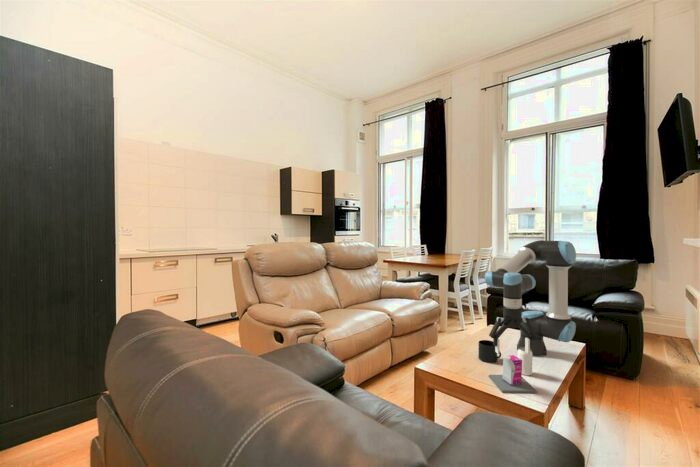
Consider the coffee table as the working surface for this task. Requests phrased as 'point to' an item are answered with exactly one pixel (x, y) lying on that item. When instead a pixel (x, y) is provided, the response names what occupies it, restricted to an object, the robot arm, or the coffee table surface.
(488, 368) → the coffee table surface
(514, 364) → the supplement box
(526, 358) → the can
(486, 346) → the mug
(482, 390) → the coffee table surface
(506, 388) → the mat
